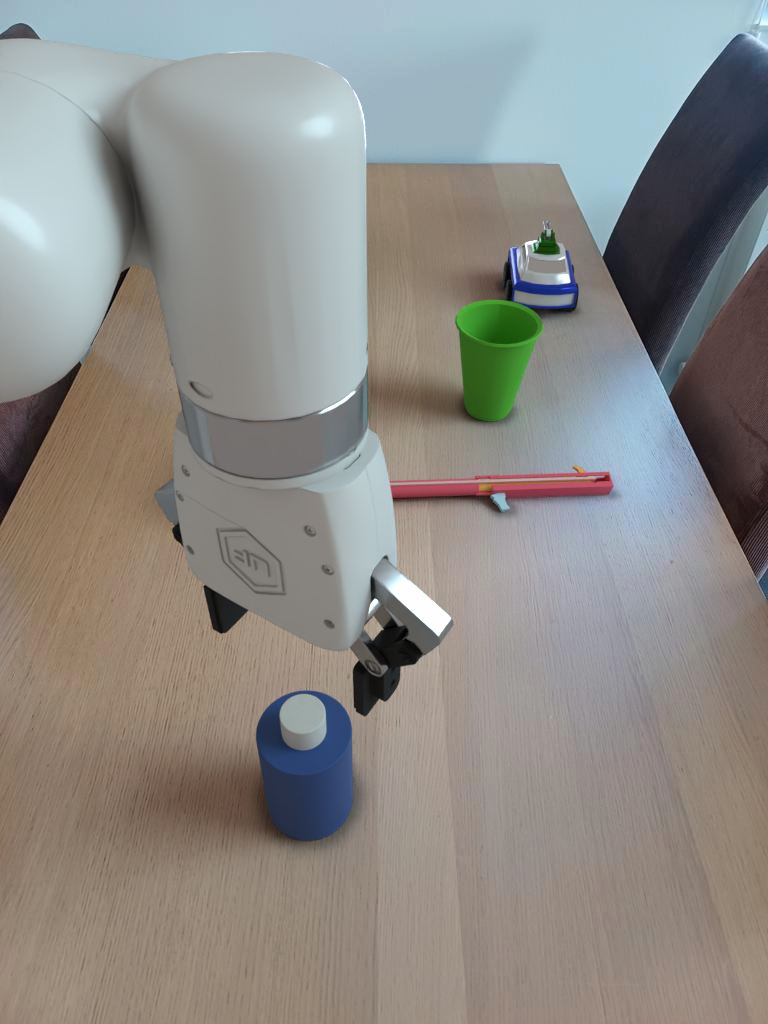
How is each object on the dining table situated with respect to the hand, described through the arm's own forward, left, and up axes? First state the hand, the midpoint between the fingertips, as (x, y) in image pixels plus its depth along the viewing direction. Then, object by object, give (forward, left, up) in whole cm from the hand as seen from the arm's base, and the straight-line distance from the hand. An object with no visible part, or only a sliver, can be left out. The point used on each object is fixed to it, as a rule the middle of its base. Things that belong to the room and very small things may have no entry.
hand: (302, 653), depth 45 cm
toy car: (+74, +17, -17) cm, 78 cm away
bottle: (0, 0, -17) cm, 17 cm away
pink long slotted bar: (+35, +4, -17) cm, 39 cm away
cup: (+48, +11, -17) cm, 52 cm away
